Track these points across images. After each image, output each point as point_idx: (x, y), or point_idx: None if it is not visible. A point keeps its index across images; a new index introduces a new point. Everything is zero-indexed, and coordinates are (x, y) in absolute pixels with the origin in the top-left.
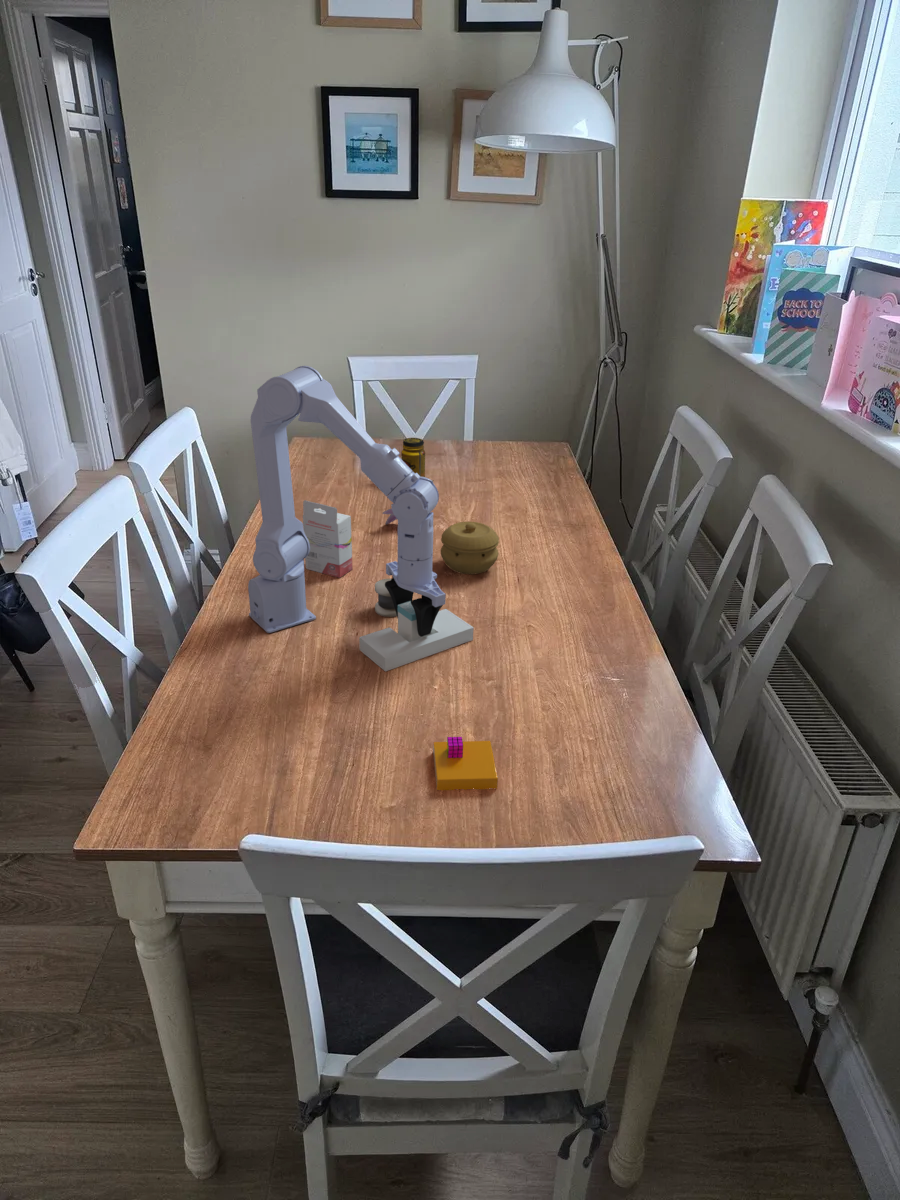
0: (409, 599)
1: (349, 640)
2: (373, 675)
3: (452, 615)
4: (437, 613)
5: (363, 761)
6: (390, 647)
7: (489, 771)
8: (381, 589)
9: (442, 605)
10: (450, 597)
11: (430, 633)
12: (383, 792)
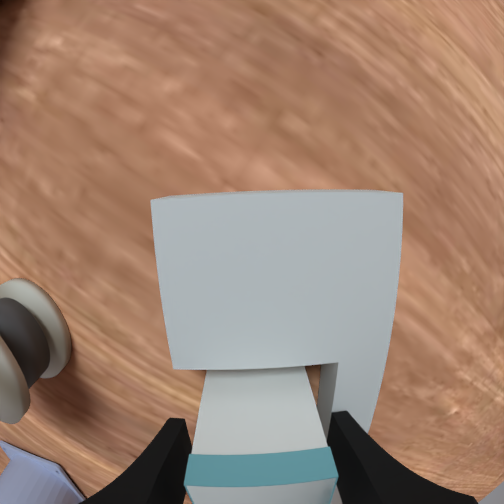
0: (162, 490)
1: None
2: None
3: (236, 211)
4: (411, 471)
5: None
6: None
7: None
8: (2, 414)
9: (454, 492)
10: (38, 85)
11: (307, 377)
12: (488, 481)
